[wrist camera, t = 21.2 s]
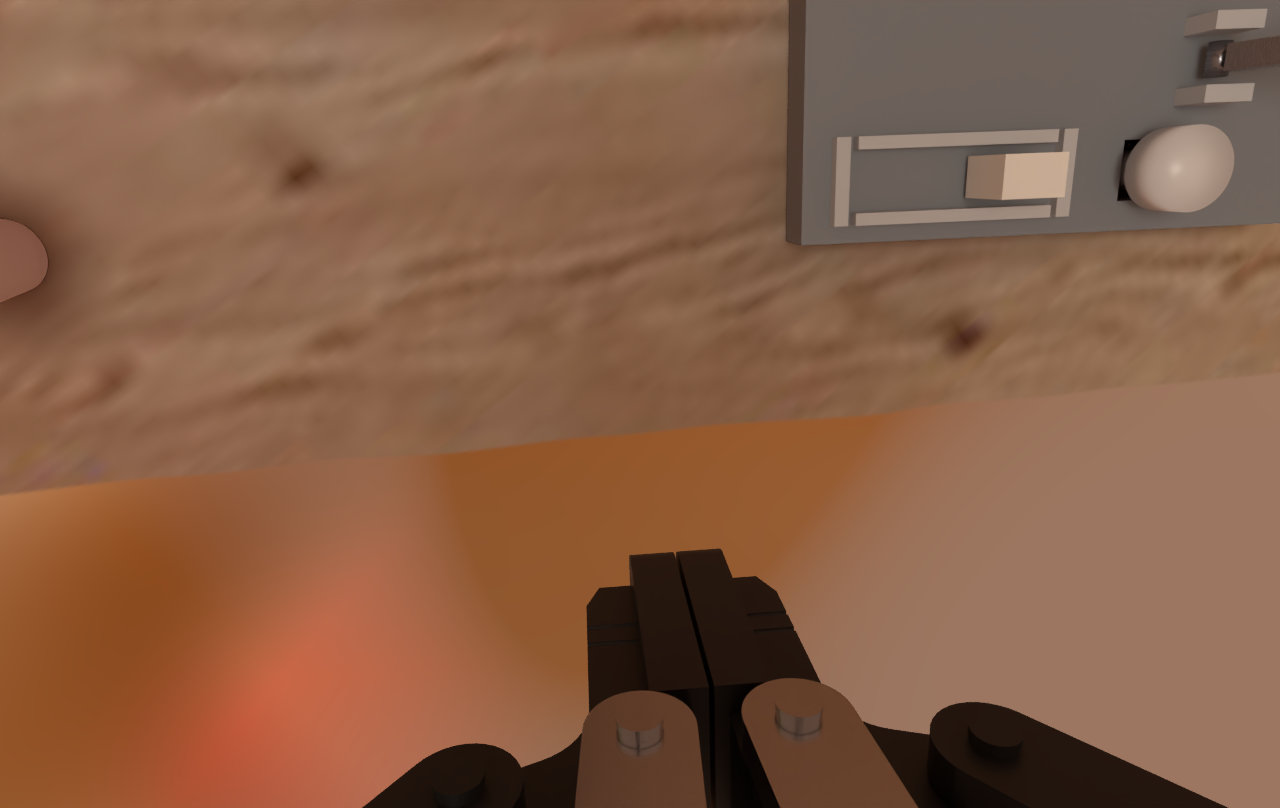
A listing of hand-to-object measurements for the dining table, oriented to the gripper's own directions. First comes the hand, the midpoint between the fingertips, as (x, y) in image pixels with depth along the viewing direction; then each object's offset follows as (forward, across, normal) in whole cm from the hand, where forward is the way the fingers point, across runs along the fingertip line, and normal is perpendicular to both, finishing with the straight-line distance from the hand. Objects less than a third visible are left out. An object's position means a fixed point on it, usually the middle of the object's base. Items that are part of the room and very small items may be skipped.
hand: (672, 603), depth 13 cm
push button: (+31, -28, -6) cm, 42 cm away
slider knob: (+28, -20, -6) cm, 35 cm away
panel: (+31, -23, -9) cm, 40 cm away
